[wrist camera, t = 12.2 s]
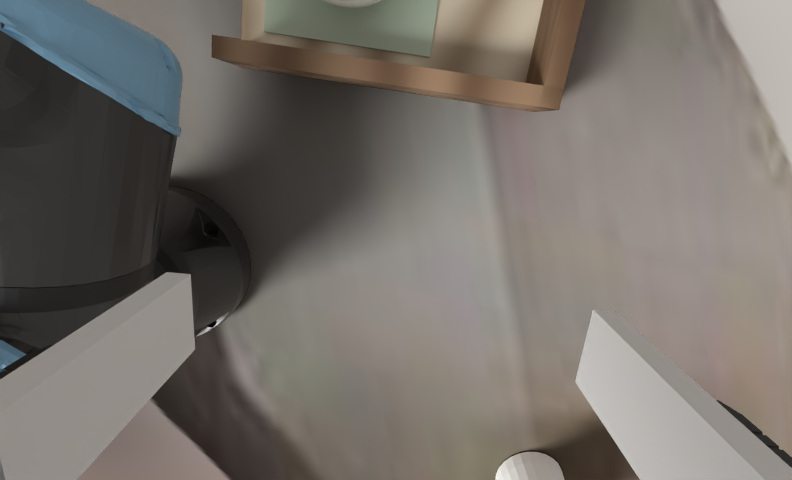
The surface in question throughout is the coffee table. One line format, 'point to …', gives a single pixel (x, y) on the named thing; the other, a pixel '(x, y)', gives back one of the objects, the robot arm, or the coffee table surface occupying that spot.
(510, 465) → the cup
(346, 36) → the pad
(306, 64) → the walls
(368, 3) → the lidded jar
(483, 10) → the board
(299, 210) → the coffee table surface
